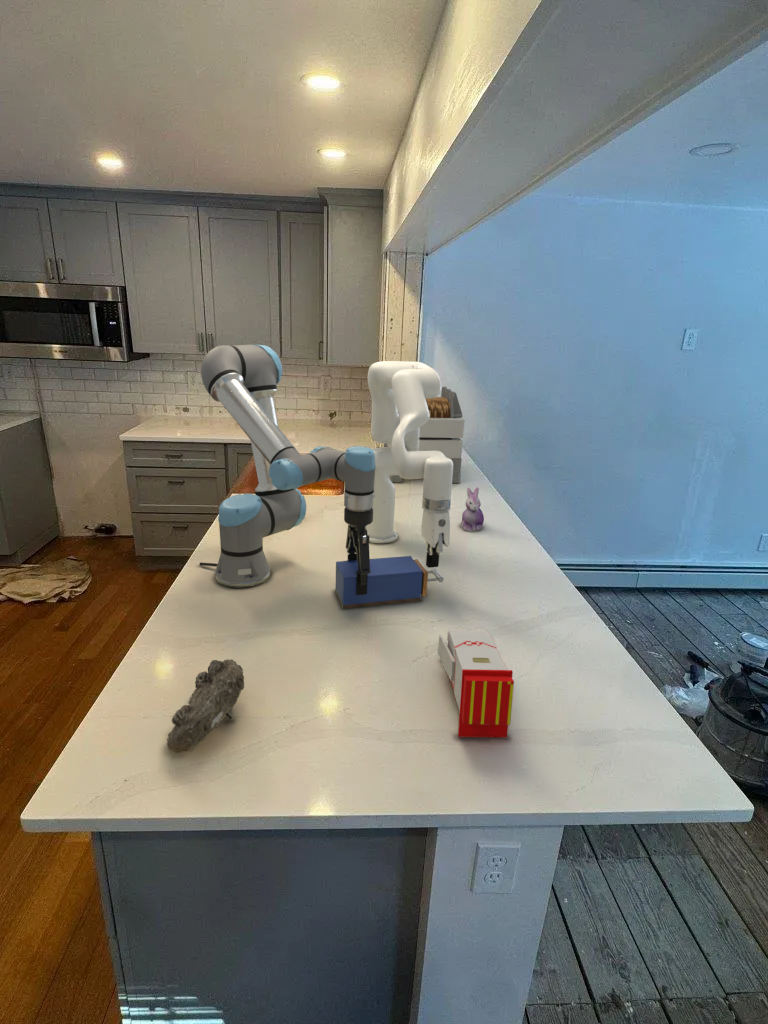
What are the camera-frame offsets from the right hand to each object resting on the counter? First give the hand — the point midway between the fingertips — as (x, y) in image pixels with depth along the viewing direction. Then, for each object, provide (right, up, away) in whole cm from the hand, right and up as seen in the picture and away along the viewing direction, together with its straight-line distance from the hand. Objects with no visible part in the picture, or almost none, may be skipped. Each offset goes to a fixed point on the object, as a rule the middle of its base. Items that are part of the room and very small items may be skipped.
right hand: (432, 566), depth 157 cm
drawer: (-10, -7, 0) cm, 12 cm away
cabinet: (-15, -8, -1) cm, 17 cm away
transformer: (+4, +34, +118) cm, 123 cm away
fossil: (-46, -24, -49) cm, 72 cm away
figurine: (+19, +9, +52) cm, 56 cm away
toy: (+5, -23, -39) cm, 45 cm away
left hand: (-21, -5, -4) cm, 22 cm away
